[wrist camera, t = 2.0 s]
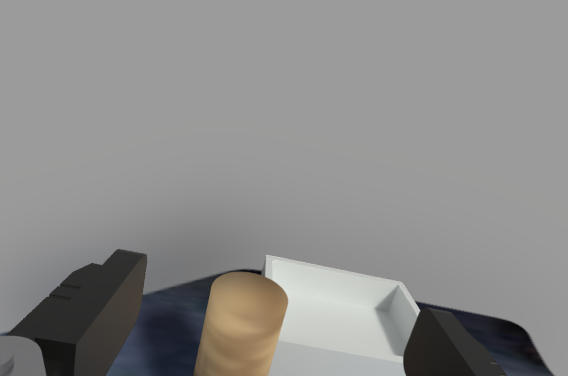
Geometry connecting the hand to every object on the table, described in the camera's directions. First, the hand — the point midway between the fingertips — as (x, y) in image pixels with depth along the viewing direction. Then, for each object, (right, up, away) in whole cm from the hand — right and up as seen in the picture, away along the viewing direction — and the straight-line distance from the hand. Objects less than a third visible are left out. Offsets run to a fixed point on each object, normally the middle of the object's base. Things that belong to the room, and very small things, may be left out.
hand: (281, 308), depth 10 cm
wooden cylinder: (-5, -14, +16) cm, 22 cm away
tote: (+5, -13, +28) cm, 32 cm away
